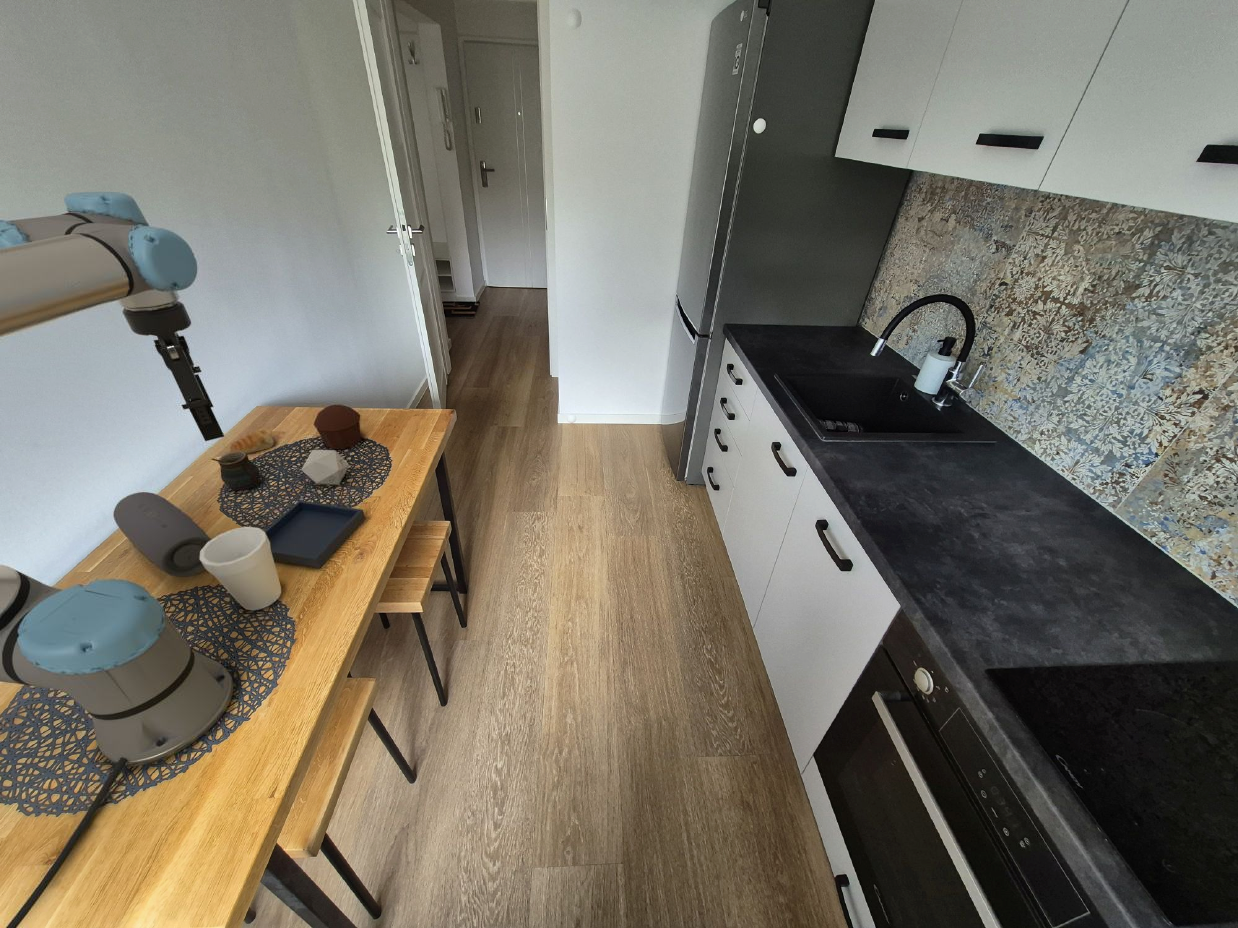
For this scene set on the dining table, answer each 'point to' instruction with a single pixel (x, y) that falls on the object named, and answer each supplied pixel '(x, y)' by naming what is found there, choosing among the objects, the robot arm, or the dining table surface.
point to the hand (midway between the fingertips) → (209, 422)
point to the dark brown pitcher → (238, 470)
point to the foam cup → (243, 566)
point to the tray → (311, 532)
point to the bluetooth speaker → (162, 533)
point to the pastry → (253, 442)
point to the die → (325, 467)
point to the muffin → (338, 426)
